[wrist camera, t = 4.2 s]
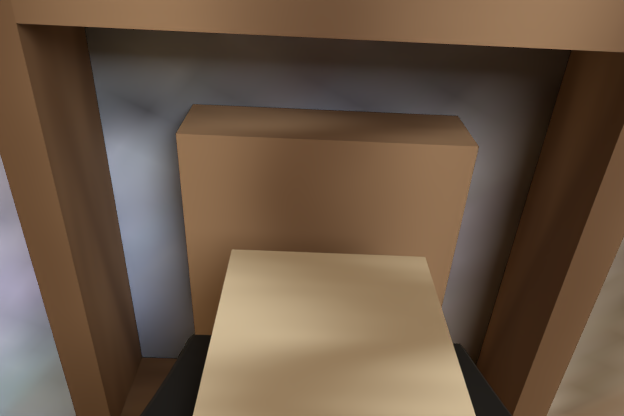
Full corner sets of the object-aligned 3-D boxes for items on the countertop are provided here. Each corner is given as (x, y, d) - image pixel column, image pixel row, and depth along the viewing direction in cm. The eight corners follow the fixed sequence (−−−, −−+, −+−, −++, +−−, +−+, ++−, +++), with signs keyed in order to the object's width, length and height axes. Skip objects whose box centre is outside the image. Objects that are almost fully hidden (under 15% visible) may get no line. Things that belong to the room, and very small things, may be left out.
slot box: (635, -21, 12) (725, 0, 9) (496, 387, 19) (525, 463, 16) (26, -52, 12) (-56, -39, 9) (117, 376, 19) (86, 451, 16)
